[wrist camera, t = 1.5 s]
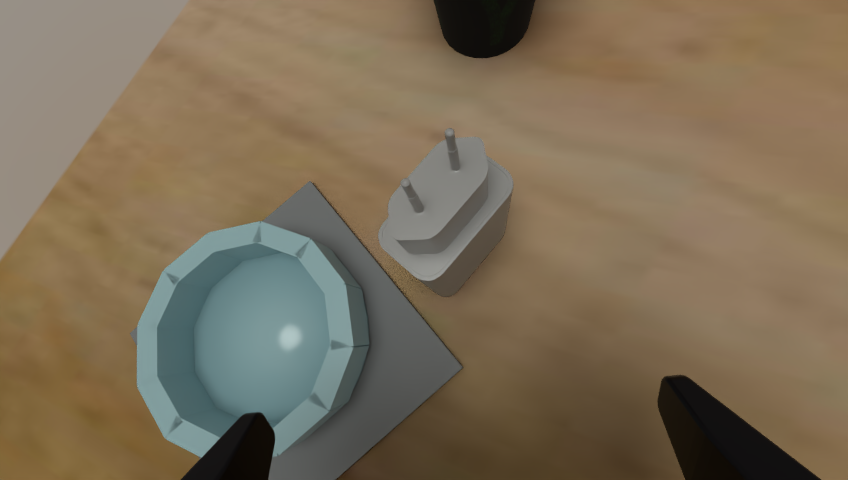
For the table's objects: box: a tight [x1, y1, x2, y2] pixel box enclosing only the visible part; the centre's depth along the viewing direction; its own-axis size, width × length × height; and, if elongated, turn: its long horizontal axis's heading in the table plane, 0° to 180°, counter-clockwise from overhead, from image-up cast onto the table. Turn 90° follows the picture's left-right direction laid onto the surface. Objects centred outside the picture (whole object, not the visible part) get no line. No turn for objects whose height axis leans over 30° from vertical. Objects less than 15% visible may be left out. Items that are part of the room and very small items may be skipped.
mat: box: [130, 181, 463, 480], centre depth 22 cm, size 14×14×1 cm
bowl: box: [137, 221, 369, 458], centre depth 21 cm, size 11×11×3 cm
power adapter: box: [378, 128, 513, 297], centre depth 16 cm, size 3×5×12 cm, turn 139°
